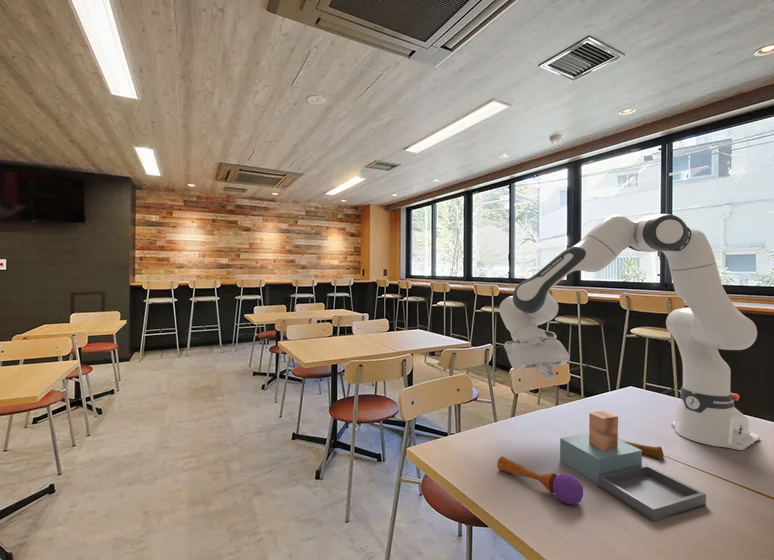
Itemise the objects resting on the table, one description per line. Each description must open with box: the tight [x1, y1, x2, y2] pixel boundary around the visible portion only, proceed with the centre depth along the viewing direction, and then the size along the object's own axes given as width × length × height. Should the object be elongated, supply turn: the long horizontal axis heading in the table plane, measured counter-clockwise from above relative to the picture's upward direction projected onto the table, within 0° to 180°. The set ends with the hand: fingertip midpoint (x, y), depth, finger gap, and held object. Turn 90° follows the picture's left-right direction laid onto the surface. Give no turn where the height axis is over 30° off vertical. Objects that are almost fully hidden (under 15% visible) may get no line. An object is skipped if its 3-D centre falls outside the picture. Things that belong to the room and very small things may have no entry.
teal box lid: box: [559, 432, 643, 485], centre depth 96 cm, size 14×12×6 cm
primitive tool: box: [622, 440, 665, 461], centre depth 108 cm, size 19×6×4 cm, turn 48°
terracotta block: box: [588, 410, 619, 451], centre depth 95 cm, size 5×4×8 cm
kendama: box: [497, 456, 584, 505], centre depth 87 cm, size 6×6×20 cm
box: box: [597, 464, 707, 522], centre depth 84 cm, size 16×13×2 cm
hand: (550, 378), depth 112 cm, fingers closed
